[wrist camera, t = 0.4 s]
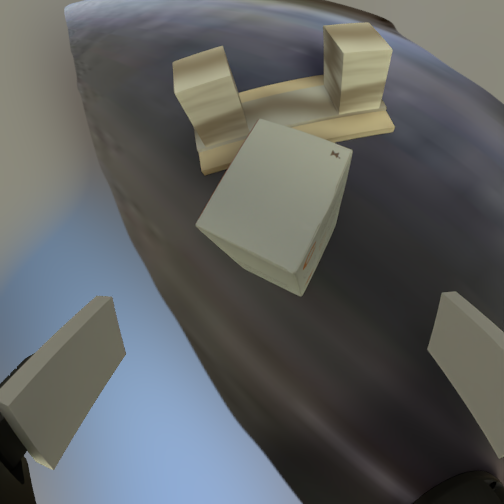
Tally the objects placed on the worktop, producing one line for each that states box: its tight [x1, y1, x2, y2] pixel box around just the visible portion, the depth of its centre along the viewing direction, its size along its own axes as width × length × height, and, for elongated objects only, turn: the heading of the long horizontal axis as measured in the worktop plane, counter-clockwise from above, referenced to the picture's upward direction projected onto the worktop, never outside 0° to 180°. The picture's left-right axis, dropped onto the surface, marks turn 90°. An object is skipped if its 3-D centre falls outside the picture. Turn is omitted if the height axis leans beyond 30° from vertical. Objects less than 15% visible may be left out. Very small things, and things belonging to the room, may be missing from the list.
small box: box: [195, 119, 353, 296], centre depth 22 cm, size 8×6×13 cm
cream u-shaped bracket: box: [173, 23, 395, 176], centre depth 27 cm, size 10×22×11 cm, turn 102°
